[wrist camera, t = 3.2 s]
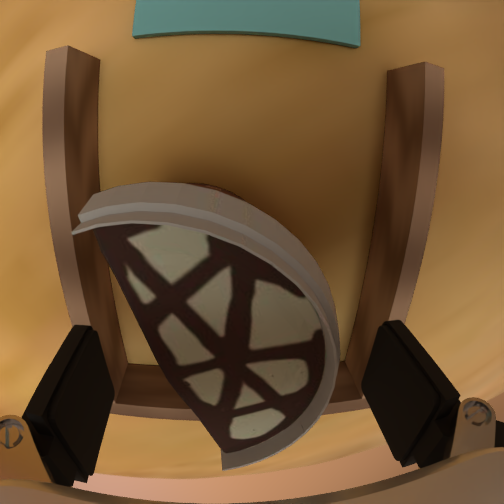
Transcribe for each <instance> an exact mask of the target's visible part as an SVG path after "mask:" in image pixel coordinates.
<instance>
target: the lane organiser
mask: <svg viewBox="0 0 504 504" xmlns="http://www.w3.org/2000/svg"><path fill="white" fill-rule="evenodd" d="M99 67H100V60H99V59H97V58H95V57H93V56H91V55H89V54H86V53H84V52H82V51H80V50H77V49H75V48H73V47H71V46H64V47H60V48H56V49H52V50H49V51H46V59H45V71H44V86H43V158H44V173H45V185H46V195H47V204H48V212H49V220H50V227H51V233H52V239H53V245H54V251H55V256H56V261H57V266H58V271H59V276H60V280H61V284H62V289H63V293H64V297H65V301H66V305H67V309H68V312H69V316H70V320H71V323H72V327H73V326H74V325H89V326H92V328H93V330H96V331H97V332H98V335H99V339H100V342H101V346H102V350H103V353H104V357H105V360H106V364H107V367H108V370H109V374H110V377H111V380H112V383H113V386H114V390H115V397H114V401H113V404H112V407H111V411H110V413H111V414H118V415H127V416H136V417H146V418H158V419H172V420H194V421H200V420H199V418H198V417H197V416H196V415H195V413H194V412H193V411H192V410H191V409H190V408H189V406H188V405H187V404H186V403H185V402H184V401H183V400H182V398H181V397H180V396H179V395H178V394H177V392H176V391H175V390H174V388H173V387H172V386H171V385H170V383H169V382H168V380H167V379H166V377H165V375H164V373H163V371H162V370H161V368H160V366H154V365H138V364H128V361H127V357H126V353H125V349H124V345H123V341H122V336H121V332H120V327H119V323H118V318H117V313H116V308H115V303H114V297H113V292H112V286H111V280H110V274H109V268H108V262H107V260H106V259H105V257H104V256H103V254H102V253H101V251H100V247H99V244H98V241H97V239H96V237H95V235H94V232H93V229H90V230H87V231H84V232H80V233H77V234H74V235H73V234H72V231H73V230H74V229H75V228H76V227H77V226H78V225H79V224H80V223H81V221H80V219H79V217H78V214H79V213H80V212H81V210H82V209H83V207H84V206H85V205H86V203H87V202H88V201H89V199H90V198H91V197H92V196H93V194H96V193H99V192H100V185H99V167H98V84H99ZM443 110H444V68H442V67H439V66H436V65H433V64H430V63H428V62H422V63H417V64H413V65H409V66H405V67H401V68H397V69H393V70H389V71H387V99H386V119H385V134H384V146H383V157H382V167H381V177H380V185H379V193H378V201H377V208H376V215H375V222H374V228H373V235H372V241H371V247H370V252H369V258H368V263H367V268H366V274H365V279H364V284H363V288H362V293H361V298H360V302H359V307H358V311H357V315H356V320H355V324H354V328H353V332H352V336H351V340H350V344H349V348H348V351H347V355H346V359H345V361H344V362H339V366H338V373H337V376H336V381H335V388H334V390H333V393H332V395H331V398H330V401H329V403H328V405H327V407H326V409H325V410H324V412H323V413H322V415H326V414H334V413H341V412H348V411H355V410H361V409H367V408H370V406H369V404H368V402H367V400H366V398H365V396H364V394H363V392H362V389H361V382H362V379H363V376H364V373H365V369H366V366H367V363H368V360H369V357H370V354H371V350H372V347H373V344H374V340H375V337H376V333H377V330H378V327H379V326H382V324H383V322H385V321H391V320H401V321H402V322H403V323H404V324H405V320H406V317H407V314H408V311H409V307H410V304H411V301H412V297H413V294H414V290H415V286H416V283H417V279H418V275H419V271H420V267H421V263H422V259H423V254H424V250H425V245H426V241H427V236H428V231H429V226H430V221H431V215H432V210H433V204H434V198H435V191H436V185H437V177H438V169H439V161H440V152H441V141H442V128H443Z"/></svg>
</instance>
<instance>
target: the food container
mask: <svg viewBox="0 0 504 504" xmlns="http://www.w3.org/2000/svg"><path fill="white" fill-rule="evenodd" d="M78 217H79V219H80V221H81V223H80V224H79V225H78V226H77V227H76V228H75V229H74V230H73V231H72V234H73V235H74V234H77V233H80V232H84V231H87V230H90V229H93V232H94V235H95V237H96V239H97V241H98V244H99V247H100V251H101V253H102V254H103V256H104V257H105V259H106V260H107V262H108V264H109V266H110V267H111V269H112V271H113V273H114V275H115V277H116V279H117V281H118V283H119V285H120V287H121V289H122V291H123V293H124V295H125V297H126V299H127V301H128V303H129V305H130V307H131V309H132V311H133V313H134V315H135V317H136V319H137V321H138V323H139V326H140V328H141V330H142V331H143V334H144V336H145V338H146V340H147V342H148V344H149V346H150V348H151V350H152V352H153V354H154V356H155V358H156V360H157V362H158V364H159V366H160V368H161V370H162V371H163V373H164V375H165V377H166V379H167V380H168V382H169V383H170V385H171V386H172V387H173V388H174V390H175V391H176V392H177V394H178V395H179V396H180V397H181V398H182V400H183V401H184V402H185V403H186V404H187V405H188V406H189V408H190V409H191V410H192V411H193V412H194V413H195V415H196V416H197V417H198V418H199V420H200V421H201V422H202V424H203V425H204V427H205V428H206V429H207V431H208V432H209V433H210V435H211V436H212V437H213V439H214V440H215V442H216V443H217V444H218V446H219V447H220V448H221V458H222V470H223V471H225V470H230V469H235V468H240V467H244V466H247V465H250V464H254V463H257V462H260V461H262V460H264V459H266V458H269V457H271V456H273V455H275V454H277V453H279V452H281V451H282V450H284V449H286V448H287V447H289V446H291V445H292V444H293V443H295V442H296V441H297V440H298V439H300V438H301V437H302V436H303V435H305V434H306V433H307V432H308V431H309V430H310V428H311V427H312V426H313V425H314V424H315V423H316V422H317V421H318V419H319V418H320V416H321V415H322V413H323V412H324V410H325V409H326V407H327V405H328V403H329V401H330V398H331V395H332V393H333V390H334V388H335V381H336V376H337V373H338V366H339V360H340V340H339V330H338V323H337V316H336V310H335V305H334V301H333V298H332V295H331V291H330V288H329V285H328V283H327V281H326V279H325V277H324V275H323V273H322V271H321V269H320V267H319V266H318V264H317V262H316V260H315V259H314V258H313V257H312V255H311V254H310V253H309V252H308V250H307V249H306V248H305V247H304V246H303V244H302V243H301V242H300V241H299V239H297V238H296V237H295V236H294V235H293V234H292V233H291V232H289V231H288V230H287V229H286V228H285V227H284V226H282V225H281V224H280V223H279V222H278V221H277V220H275V219H274V218H272V217H271V216H269V215H267V214H266V213H264V212H262V211H261V210H259V209H257V208H256V207H254V206H252V205H251V204H249V203H247V202H246V201H245V200H243V199H242V198H240V197H239V196H237V195H235V194H233V193H232V192H230V191H227V190H225V189H222V188H219V187H217V186H212V185H207V184H198V183H169V182H144V183H137V184H130V185H123V186H117V187H114V188H111V189H108V190H105V191H102V192H99V193H96V194H93V196H92V197H91V198H90V199H89V201H88V202H87V203H86V205H85V206H84V207H83V209H82V210H81V212H80V213H79V214H78Z"/></svg>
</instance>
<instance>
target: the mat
mask: <svg viewBox="0 0 504 504" xmlns="http://www.w3.org/2000/svg"><path fill="white" fill-rule="evenodd" d="M184 34H249V35H266V36H278V37H288V38H297V39H305V40H312V41H319V42H326V43H332V44H337V45H343V46H348V47H353V48H358V47H359V46H360V4H359V0H136V6H135V14H134V23H133V33H132V36H133V37H134V38H135V39H136V38H145V37H155V36H167V35H184Z"/></svg>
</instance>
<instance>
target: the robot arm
mask: <svg viewBox="0 0 504 504" xmlns="http://www.w3.org/2000/svg"><path fill="white" fill-rule="evenodd" d="M361 389H362V392H363V394H364V396H365V398H366V400H367V402H368V404H369V406H370V408H371V410H372V412H373V414H374V417H375V419H376V421H377V423H378V425H379V427H380V429H381V431H382V433H383V435H384V437H385V439H386V442H387V444H388V446H389V448H390V450H391V452H392V454H393V456H394V458H395V459H396V460H397V461H400V463H401V465H402V467H406V466H409V465H412V464H414V463H416V462H417V464H418V466H419V468H418V470H415V471H412V472H408V473H405V474H402V475H399V476H396V477H393V478H389V479H386V480H382V481H379V482H375V483H372V484H367V485H363V486H359V487H355V488H351V489H346V490H341V491H337V492H331V493H326V494H320V495H314V496H308V497H301V498H295V499H286V500H278V501H267V502H253V503H232V504H504V423H503V422H500V421H497V420H496V416H495V411H494V409H493V408H492V407H491V405H490V404H489V403H487V402H486V401H485V400H482V399H480V398H474V397H472V398H467V399H465V400H463V401H462V402H460V401H459V397H460V394H459V393H458V391H457V390H456V389H455V387H454V386H453V385H452V383H451V382H450V381H449V379H448V378H447V377H446V376H445V374H444V373H443V372H442V370H441V369H440V368H439V367H438V365H437V364H436V363H435V361H434V360H433V359H432V358H431V356H430V355H429V354H428V353H427V351H426V350H425V349H424V348H423V346H422V345H421V344H420V343H419V342H418V340H417V339H416V338H415V337H414V335H413V334H412V333H411V332H410V331H409V329H408V328H407V327H406V326H405V325H404V323H403V322H402V321H401V320H391V321H385V322H383V324H382V326H379V327H378V330H377V333H376V337H375V340H374V344H373V347H372V350H371V354H370V357H369V360H368V363H367V366H366V369H365V373H364V376H363V379H362V382H361ZM114 397H115V390H114V386H113V383H112V380H111V377H110V374H109V370H108V367H107V364H106V360H105V357H104V353H103V350H102V346H101V342H100V339H99V335H98V332H97V331H96V330H93V328H92V326H89V325H74V326H73V327H72V329H71V331H70V332H69V334H68V335H67V337H66V339H65V340H64V342H63V344H62V345H61V347H60V349H59V350H58V352H57V354H56V356H55V357H54V359H53V361H52V362H51V364H50V365H49V367H48V369H47V370H46V372H45V374H44V376H43V378H42V379H41V381H40V383H39V385H38V387H37V389H36V390H35V392H34V394H33V396H32V398H31V400H30V402H29V404H28V406H27V408H26V410H25V412H24V414H23V416H22V418H21V417H19V416H16V415H6V416H2V417H0V504H194V503H174V502H161V501H150V500H142V499H133V498H127V497H119V496H113V495H107V494H101V493H96V492H91V491H85V490H81V489H76V488H72V486H73V483H74V480H76V481H80V482H84V483H87V480H88V476H89V475H90V476H92V475H93V473H94V470H95V466H96V462H97V458H98V454H99V450H100V446H101V443H102V439H103V435H104V432H105V428H106V425H107V421H108V418H109V414H110V411H111V407H112V404H113V401H114ZM195 504H196V503H195Z"/></svg>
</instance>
